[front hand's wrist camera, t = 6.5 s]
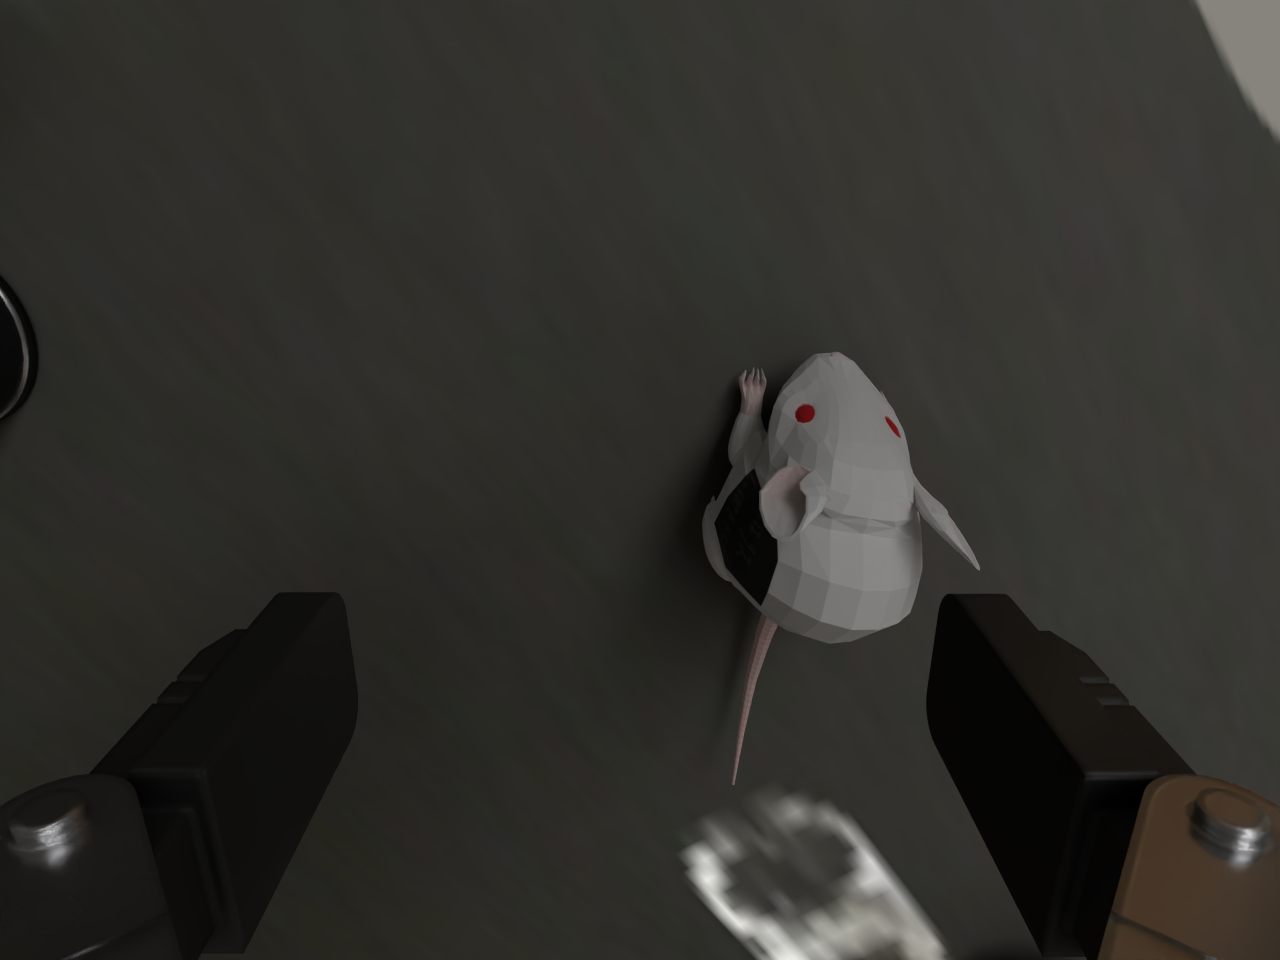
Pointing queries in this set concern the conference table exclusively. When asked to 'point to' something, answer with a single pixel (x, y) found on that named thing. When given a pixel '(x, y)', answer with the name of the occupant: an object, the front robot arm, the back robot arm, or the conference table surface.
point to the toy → (821, 511)
